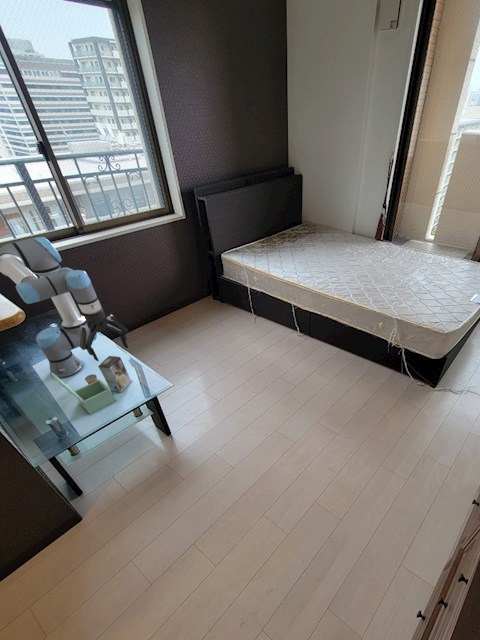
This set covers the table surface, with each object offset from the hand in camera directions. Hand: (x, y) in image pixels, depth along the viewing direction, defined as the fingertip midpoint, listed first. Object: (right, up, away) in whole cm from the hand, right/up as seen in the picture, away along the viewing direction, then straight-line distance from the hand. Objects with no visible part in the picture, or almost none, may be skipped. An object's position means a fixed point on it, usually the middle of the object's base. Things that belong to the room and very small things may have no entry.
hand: (111, 353), depth 153 cm
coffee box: (-8, -14, +24) cm, 29 cm away
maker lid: (-20, -15, +1) cm, 26 cm away
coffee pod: (-22, -14, +24) cm, 36 cm away
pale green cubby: (-15, -22, +15) cm, 31 cm away
